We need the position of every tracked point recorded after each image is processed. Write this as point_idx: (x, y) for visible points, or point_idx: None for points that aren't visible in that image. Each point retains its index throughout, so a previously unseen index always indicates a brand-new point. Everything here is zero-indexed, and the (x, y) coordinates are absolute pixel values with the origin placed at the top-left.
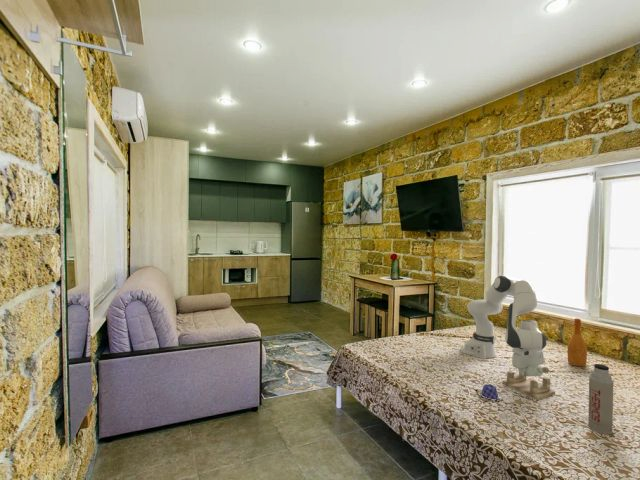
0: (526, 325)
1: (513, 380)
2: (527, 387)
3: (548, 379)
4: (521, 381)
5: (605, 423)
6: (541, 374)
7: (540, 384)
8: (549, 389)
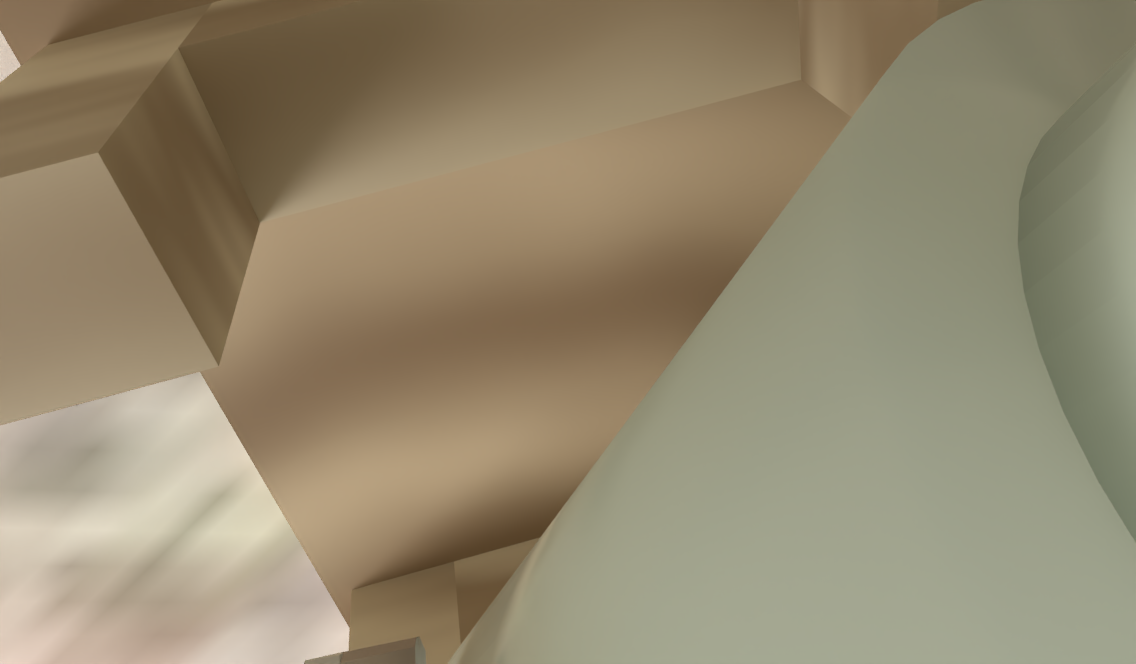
0: None
1: None
2: (679, 258)
3: (2, 170)
4: (548, 518)
5: None
6: (980, 52)
7: (379, 188)
8: (81, 36)
